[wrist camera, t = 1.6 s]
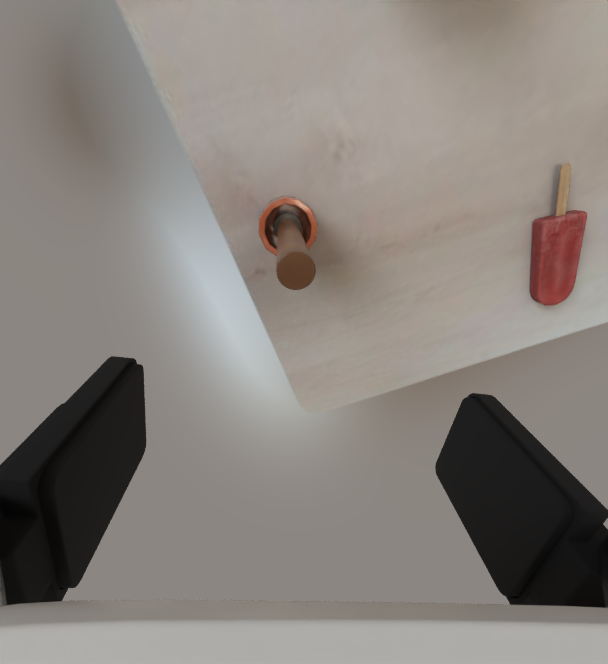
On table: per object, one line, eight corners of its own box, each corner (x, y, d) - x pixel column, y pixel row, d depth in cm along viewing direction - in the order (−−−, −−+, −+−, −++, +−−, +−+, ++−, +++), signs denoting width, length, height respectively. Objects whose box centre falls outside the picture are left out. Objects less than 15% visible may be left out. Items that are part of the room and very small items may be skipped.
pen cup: (253, 208, 33) (249, 213, 28) (299, 187, 33) (303, 188, 28) (274, 254, 35) (274, 266, 30) (318, 235, 35) (325, 244, 30)
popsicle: (596, 157, 32) (575, 301, 38) (581, 158, 33) (563, 296, 40) (549, 168, 32) (536, 310, 38) (536, 169, 33) (525, 305, 40)
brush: (269, 215, 33) (257, 256, 15) (293, 205, 33) (311, 232, 15) (280, 240, 34) (282, 306, 16) (303, 230, 34) (332, 285, 16)
